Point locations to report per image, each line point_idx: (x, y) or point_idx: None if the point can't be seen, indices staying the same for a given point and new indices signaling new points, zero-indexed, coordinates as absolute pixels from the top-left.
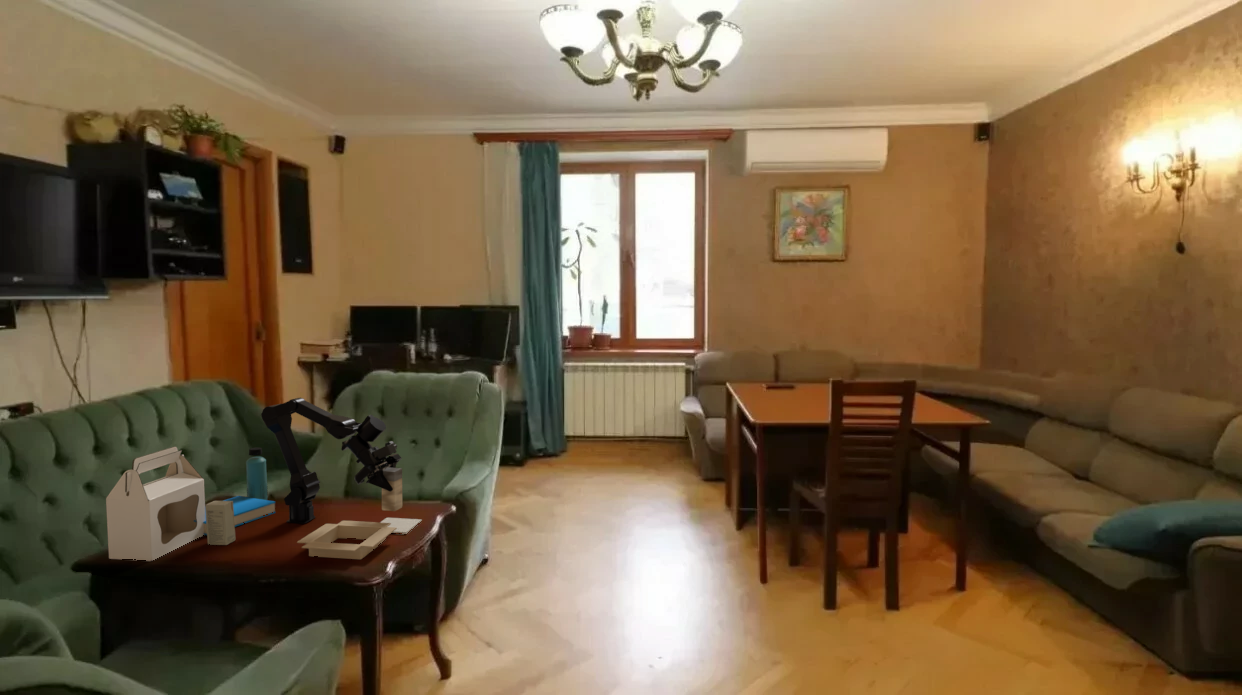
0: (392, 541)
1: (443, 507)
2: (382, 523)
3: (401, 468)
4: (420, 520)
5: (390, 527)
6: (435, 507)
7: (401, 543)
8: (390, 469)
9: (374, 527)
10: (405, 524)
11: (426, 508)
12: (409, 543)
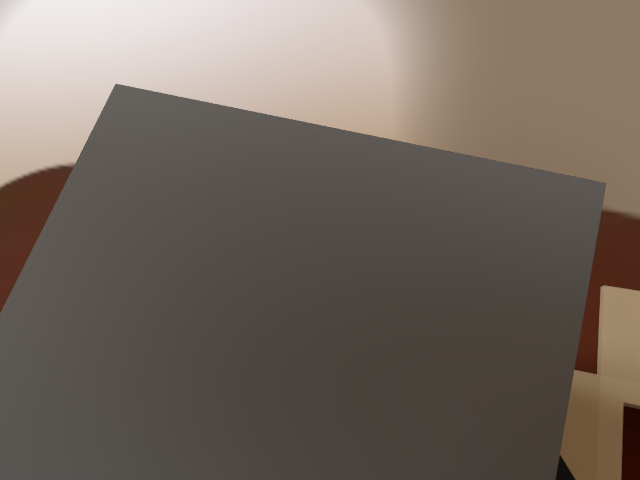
0: (584, 325)
1: (29, 178)
2: None
3: (119, 98)
4: None
5: (608, 333)
6: (19, 217)
7: (613, 262)
8: (212, 444)
9: (620, 471)
10: None
11: (23, 261)
12: (606, 216)
